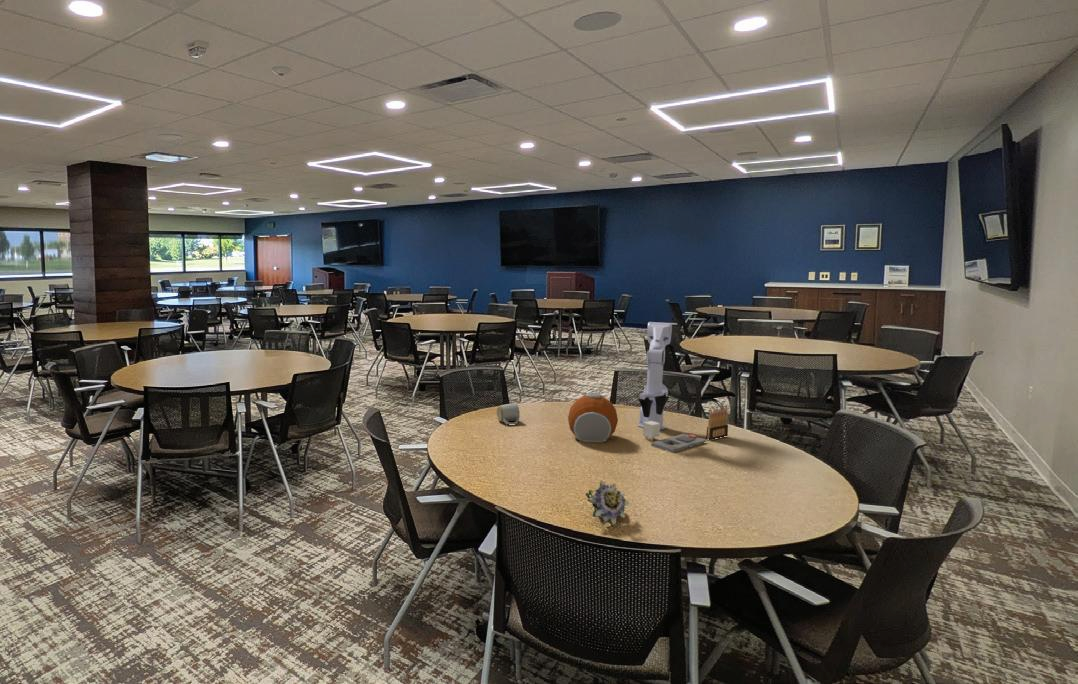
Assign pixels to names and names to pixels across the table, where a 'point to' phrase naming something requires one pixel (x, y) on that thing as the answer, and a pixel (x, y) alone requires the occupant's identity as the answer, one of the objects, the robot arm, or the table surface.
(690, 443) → the socket strip
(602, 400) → the alarm clock
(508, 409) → the ceramic mug
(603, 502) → the passion flower
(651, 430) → the plug
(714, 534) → the table surface
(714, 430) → the ammunition clip
